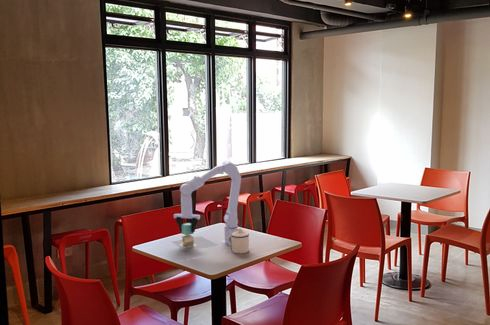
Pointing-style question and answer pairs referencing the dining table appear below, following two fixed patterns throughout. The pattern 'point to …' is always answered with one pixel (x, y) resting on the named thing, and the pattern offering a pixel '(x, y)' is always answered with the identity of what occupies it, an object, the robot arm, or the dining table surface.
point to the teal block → (186, 229)
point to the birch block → (187, 240)
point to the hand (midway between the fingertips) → (187, 231)
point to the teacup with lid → (239, 241)
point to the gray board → (195, 244)
